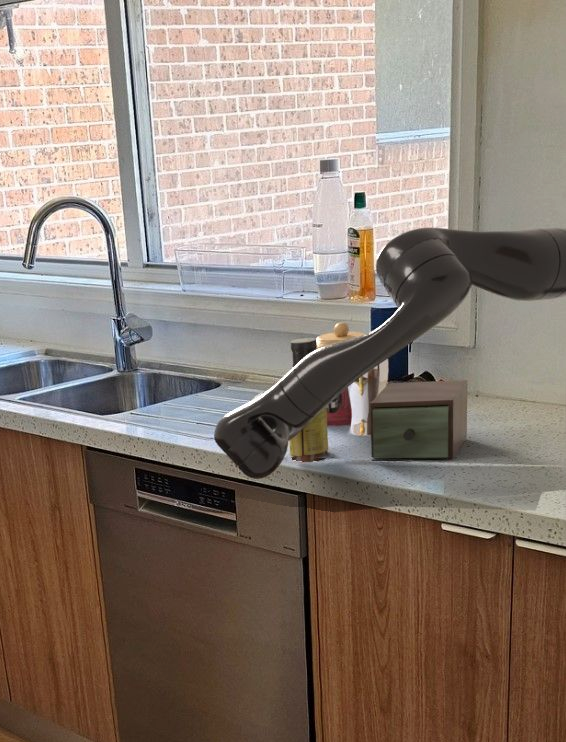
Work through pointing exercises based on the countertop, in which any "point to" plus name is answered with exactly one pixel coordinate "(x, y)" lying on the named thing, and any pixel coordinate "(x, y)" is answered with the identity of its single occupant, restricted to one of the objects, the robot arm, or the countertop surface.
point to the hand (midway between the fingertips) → (308, 392)
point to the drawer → (411, 432)
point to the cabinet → (429, 396)
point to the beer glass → (366, 398)
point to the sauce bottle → (315, 432)
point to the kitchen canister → (345, 410)
